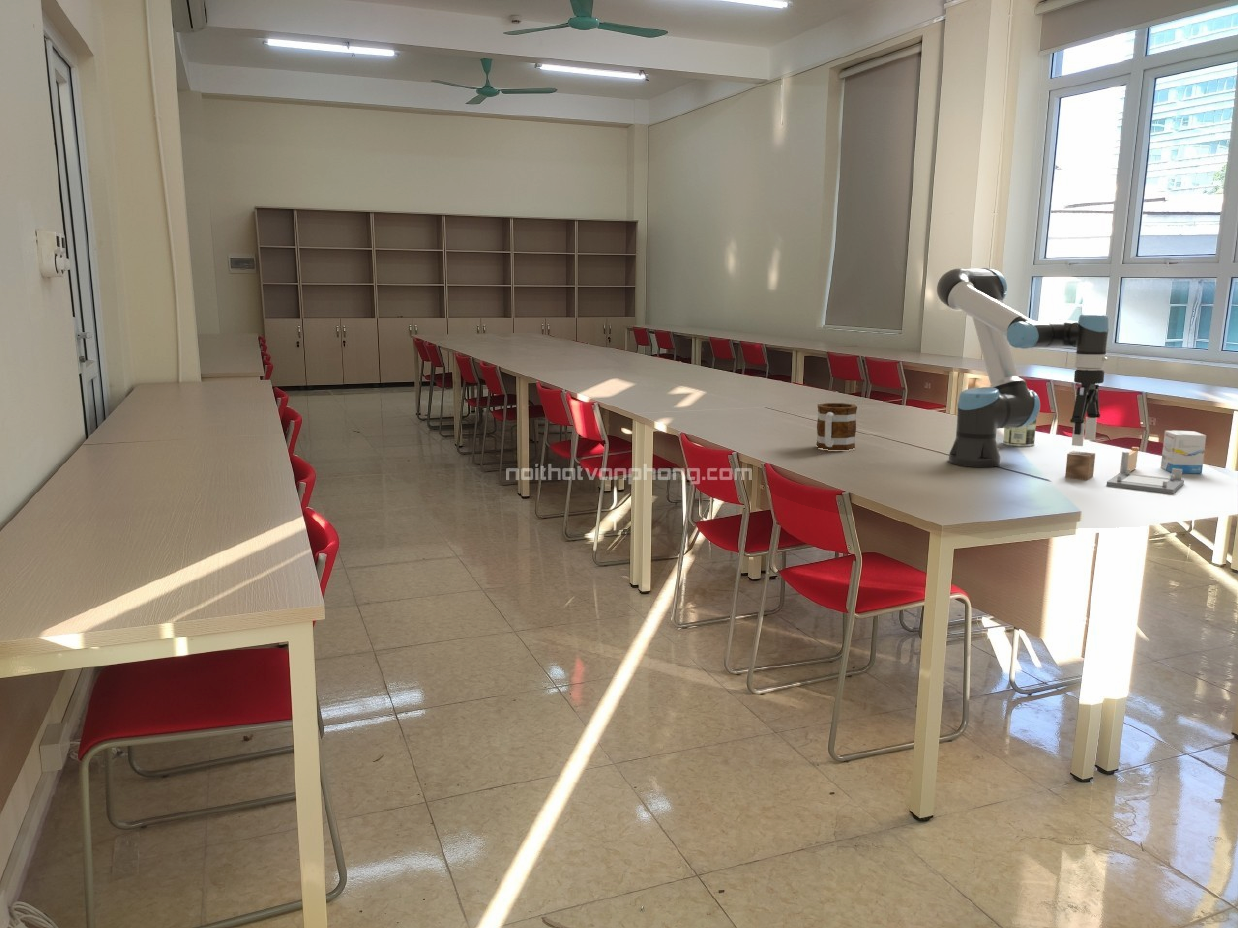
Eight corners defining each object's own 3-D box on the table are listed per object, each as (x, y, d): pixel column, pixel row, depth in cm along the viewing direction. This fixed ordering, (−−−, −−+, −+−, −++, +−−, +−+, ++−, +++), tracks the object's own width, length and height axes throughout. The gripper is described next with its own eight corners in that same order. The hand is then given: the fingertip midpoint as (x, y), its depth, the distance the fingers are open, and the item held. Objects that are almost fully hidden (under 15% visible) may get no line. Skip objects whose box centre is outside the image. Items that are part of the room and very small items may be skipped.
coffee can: (1026, 441, 319) (1029, 402, 317) (1039, 446, 309) (1043, 406, 307) (997, 441, 320) (1000, 402, 317) (1009, 446, 309) (1012, 406, 307)
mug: (820, 444, 317) (822, 402, 314) (859, 446, 311) (861, 404, 308) (806, 453, 300) (808, 409, 297) (847, 456, 294) (849, 411, 291)
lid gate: (1127, 474, 262) (1130, 453, 261) (1120, 473, 263) (1123, 452, 262) (1137, 467, 271) (1139, 447, 270) (1130, 467, 272) (1132, 446, 271)
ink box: (1202, 474, 264) (1207, 435, 261) (1170, 473, 265) (1175, 434, 263) (1190, 468, 272) (1195, 430, 270) (1159, 467, 274) (1164, 429, 271)
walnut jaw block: (1064, 477, 260) (1067, 453, 259) (1070, 474, 265) (1072, 450, 263) (1087, 480, 256) (1090, 456, 255) (1093, 476, 261) (1095, 453, 259)
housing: (1104, 485, 249) (1107, 461, 248) (1120, 474, 263) (1122, 451, 261) (1172, 494, 238) (1175, 468, 237) (1185, 482, 252) (1188, 458, 251)
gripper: (1093, 372, 243) (1086, 449, 246) (1114, 366, 261) (1108, 438, 265) (1063, 371, 247) (1057, 447, 251) (1086, 365, 266) (1080, 436, 270)
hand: (1083, 442), depth 258 cm, fingers open, 13 cm apart
